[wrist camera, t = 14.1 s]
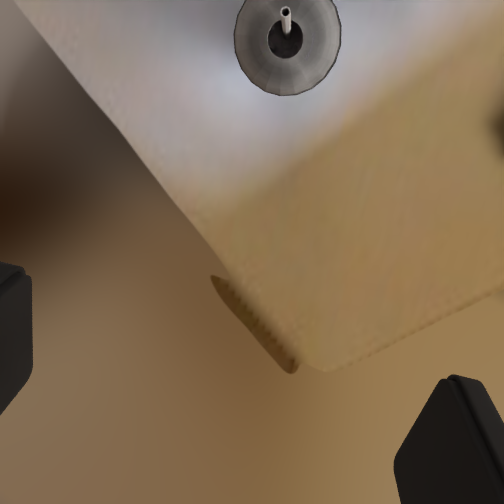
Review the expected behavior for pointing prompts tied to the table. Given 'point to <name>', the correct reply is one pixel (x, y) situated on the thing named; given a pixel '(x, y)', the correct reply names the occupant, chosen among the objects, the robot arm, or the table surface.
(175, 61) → the table surface
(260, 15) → the beverage cup
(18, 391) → the robot arm
